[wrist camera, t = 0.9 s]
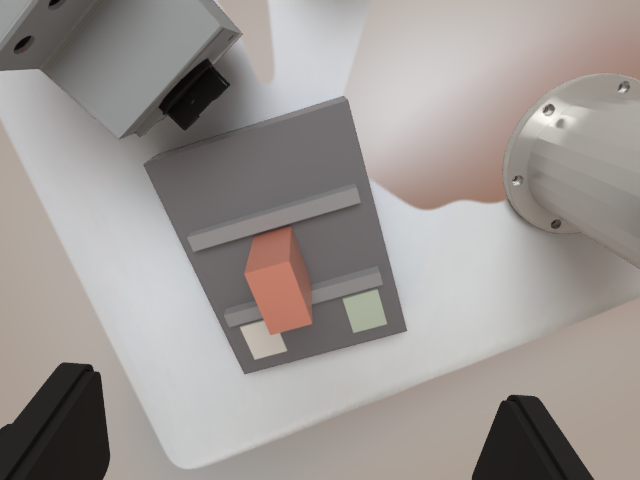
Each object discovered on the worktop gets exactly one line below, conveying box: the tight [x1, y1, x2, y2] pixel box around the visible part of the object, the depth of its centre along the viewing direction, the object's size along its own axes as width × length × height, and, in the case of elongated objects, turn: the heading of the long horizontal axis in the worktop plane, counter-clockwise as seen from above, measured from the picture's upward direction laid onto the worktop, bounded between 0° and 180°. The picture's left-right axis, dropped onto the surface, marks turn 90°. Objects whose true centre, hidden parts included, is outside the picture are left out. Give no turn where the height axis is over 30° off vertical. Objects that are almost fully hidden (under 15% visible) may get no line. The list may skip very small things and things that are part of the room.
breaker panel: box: [143, 96, 407, 374], centre depth 34 cm, size 15×20×4 cm
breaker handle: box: [244, 225, 312, 335], centre depth 30 cm, size 3×5×6 cm, turn 17°
